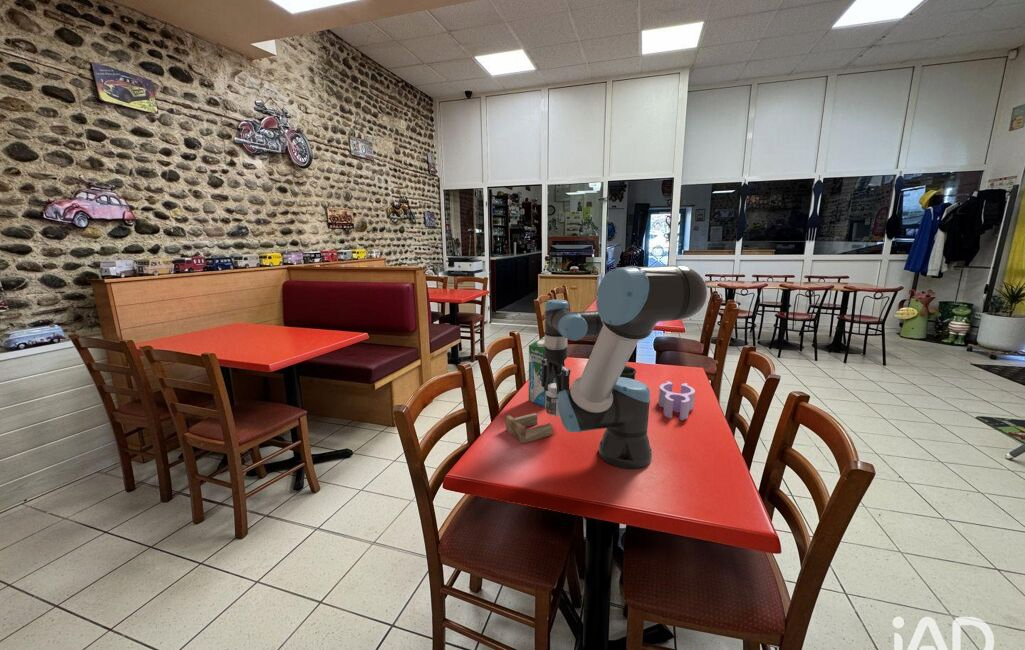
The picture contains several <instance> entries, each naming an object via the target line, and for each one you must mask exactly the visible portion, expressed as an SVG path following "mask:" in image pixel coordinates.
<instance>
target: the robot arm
mask: <svg viewBox="0 0 1025 650" xmlns="http://www.w3.org/2000/svg"><path fill="white" fill-rule="evenodd" d="M705 282H706V281H704V278H703V277H702V276H701V275H700V274H699V273H698V272H697V271H696V270H693V268H690V267H688V266H684V265H673V264H672V265H655V266H651V265H650V266H637V265H627V266H625V267H616V268H613V269H611V270H609V271H608V272H607V273H605V275H604V276H603V277H602V279H601V281H600V282H599V285H598V287H597V291H596V297H597V299H596V310H585V311H570V307H569V302H568V301H567V300H566V299H558V298H557V299H548V300H547V301H546V302H545V307H544V308H545V309H544V336H545V340H544V345H545V346H546V347H545V348H544V357H545V358H546V359H544V360H542V361H541V362H542V381H541V386H542V387H544V390H545V407H544V408H545V410H546V393H547V391H548V384H551V383H553V381H554V378H555V380H556V387H557V393H558V397H556V416H555V417H559V418H560V421H561V423H562V426H563V427H564V428H565V430H566V431H567V432H569V433H583V432H588V431H589V432H590V431H595V430H600V429H601V430H602V429H605V431H604V433H603V435H602V438H601V440H600V442H599V445H598V446H599V447H598V455H599V456H600V458H601V459H602V460H603V461H604V462H606V463H607V464H609V465H611V466H614V467H617V468H621V469H626V470H636V469H642V468H645V467H647V466H648V465H650V464H651V462H652V459H653V451H652V450H653V449H652V448H651V445H650V444H651V443H650V439H649V436H648V426H649V415H650V414H649V413H650V403H651V390H650V387H648V385H646V384H645V383H644V382H641V381H639V380H637V379H635V380H634V379H630V378H624V377H620V375H621V373H622V371H623V369H624V367H625V366H627V363H628V362H629V360H630V358H631V356H632V354H633V352H634V351H635V348H636V346H637V345H638V343H639V341H642V340H645V339H646V338H648V337H649V336H650V335H651V334H652V332H653V330H654V328H655V326H656V325H657V324H658V323H659V322H669V321H670V322H671V321H673V322H674V321H680V320H686V319H689V318H691V317H693V316H695V315H696V314H697V313H699V312H700V311H701V310H702V309H703V307H704V305H705V303H706V300H707V297H708V296H707V295H708V290H707V285H706V283H705ZM588 336H589V337H592V336H593V337H594V336H597V338H596V341H595V344H594V346H593V348H592V351H591V352H590V355H589V357H588V360H587V362H586V364H585V367H584V369H583V372H582V374H581V377H577V378H575V379H574V381H573V382H572V383H571V386H570V375H571V369H570V368H568V369H567V367H566V364H565V361H566V359H568V340H570V341H579V340H581V339H582V338H584V337H588ZM559 374H561V375H559ZM544 382H545V383H544Z"/></svg>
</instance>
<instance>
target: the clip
mask: <svg viewBox="0 0 1025 650" xmlns="http://www.w3.org/2000/svg"><path fill="white" fill-rule="evenodd" d="M695 393H696V390H695V388H694V387H692V386H690V385H689V384H688V383H687V382H683V383H681V387H680V392H679V393H678V392H674V391H673V382H671V381H669V380H667V381H665V383H664V382H663V383H661V384H659V390H658V405H659V406H660V407H661V408H662V407H663V408H662V409H663V415H664V416H665V417H667V418H668V419H673V411H675V412H674V413H679V412H680V413H679V418H678V419H679V420H680V421H684V419H685V420H687V419H688V418H689V413H690V412H691V411H693V410H692V409H694V405H695V395H696V394H695ZM690 410H691V411H690Z"/></svg>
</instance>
